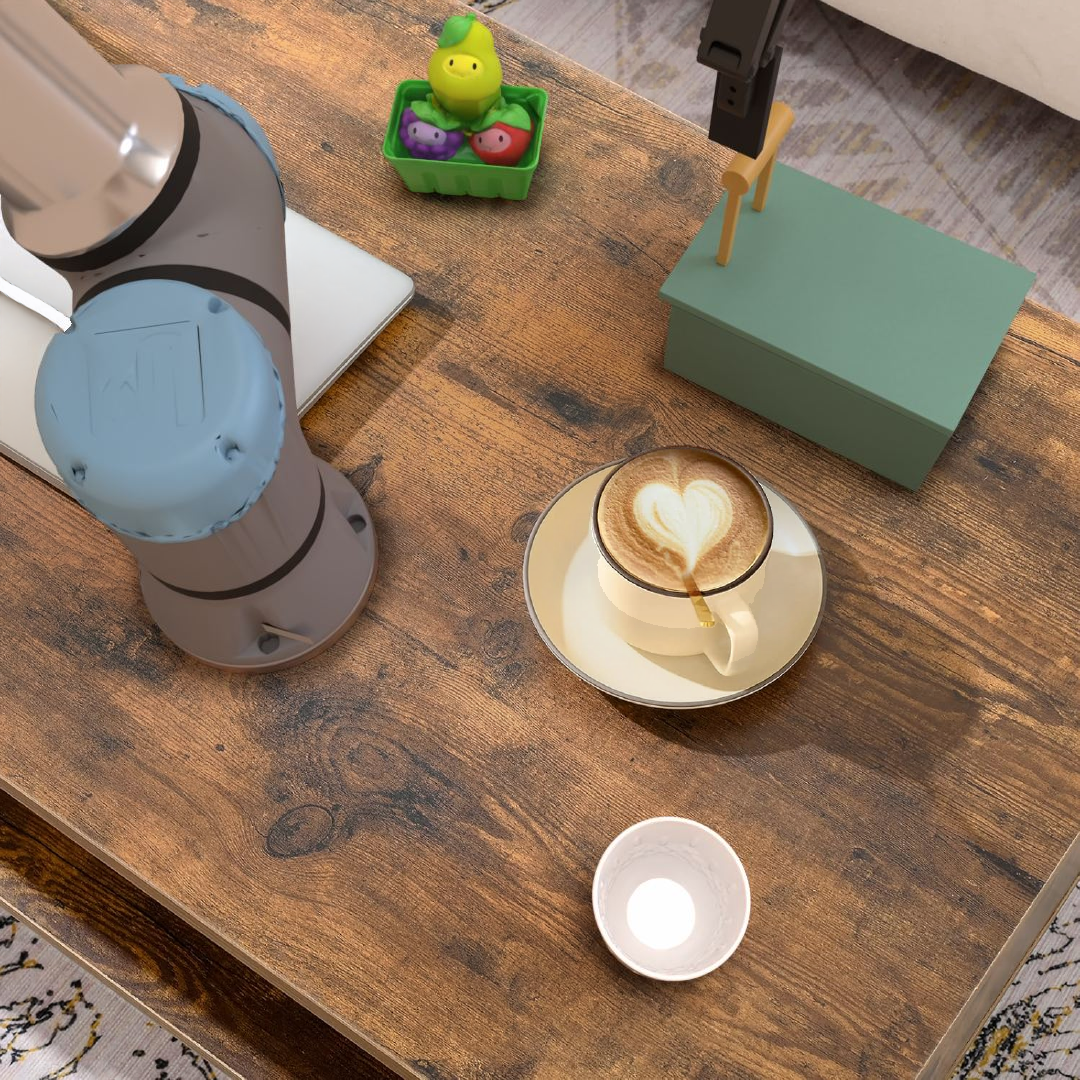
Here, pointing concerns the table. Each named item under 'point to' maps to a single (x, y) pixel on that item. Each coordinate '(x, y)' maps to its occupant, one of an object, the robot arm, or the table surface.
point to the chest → (801, 400)
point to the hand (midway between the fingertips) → (797, 56)
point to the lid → (848, 287)
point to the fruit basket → (466, 121)
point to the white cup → (671, 899)
